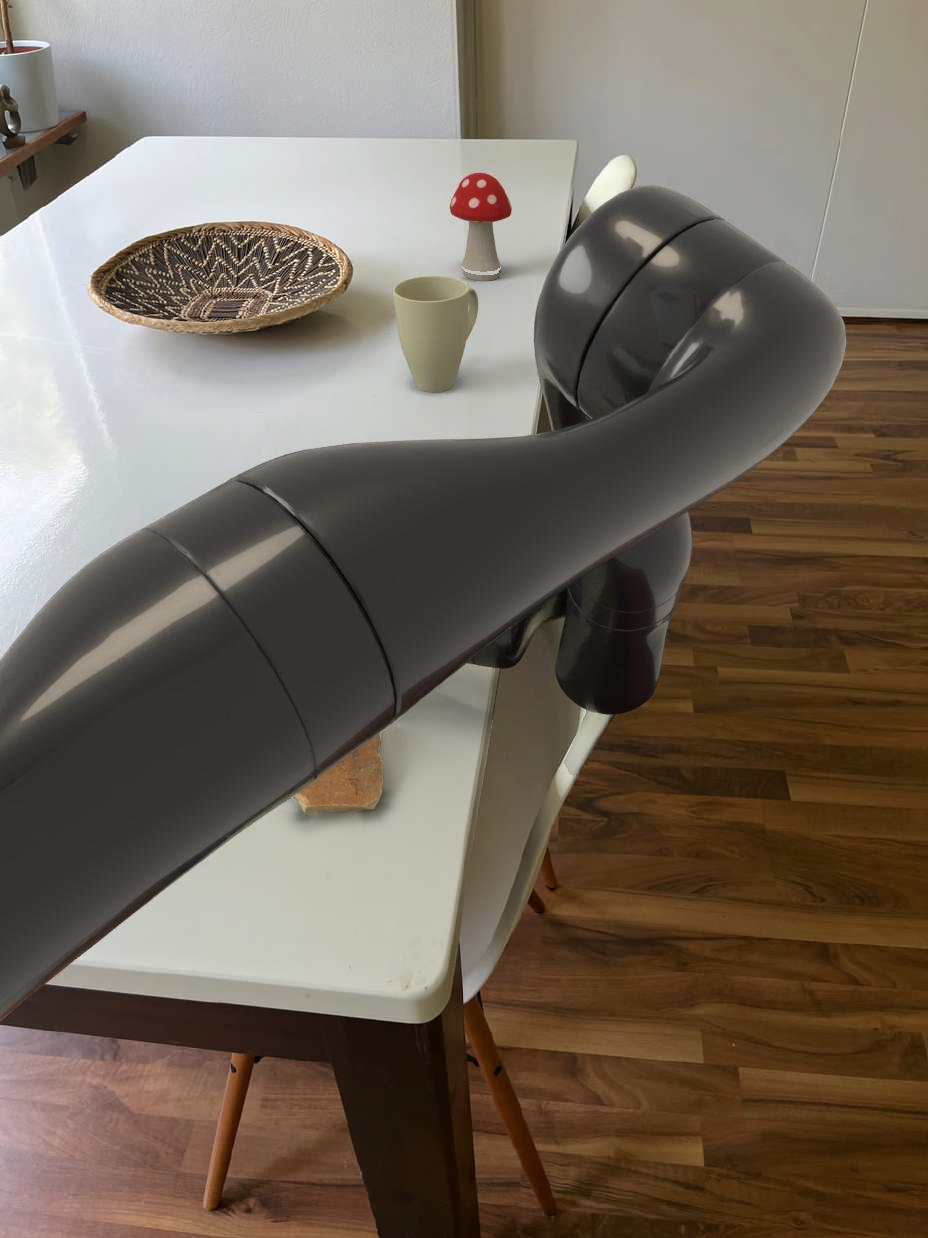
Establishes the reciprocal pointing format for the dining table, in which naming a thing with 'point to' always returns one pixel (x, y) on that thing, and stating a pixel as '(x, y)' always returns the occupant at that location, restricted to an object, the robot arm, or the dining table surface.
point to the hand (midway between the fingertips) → (191, 571)
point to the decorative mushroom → (480, 221)
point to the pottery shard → (347, 783)
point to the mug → (434, 327)
